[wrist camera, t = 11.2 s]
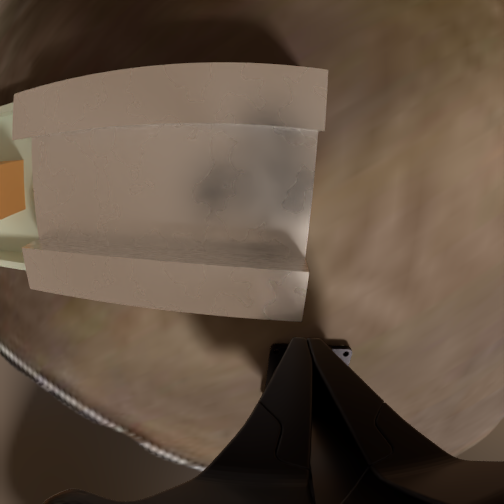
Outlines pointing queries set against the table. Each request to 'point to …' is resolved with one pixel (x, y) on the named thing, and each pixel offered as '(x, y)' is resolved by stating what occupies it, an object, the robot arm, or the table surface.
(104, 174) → the slot rail
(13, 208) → the peach toy brick
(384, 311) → the table surface
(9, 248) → the tray
